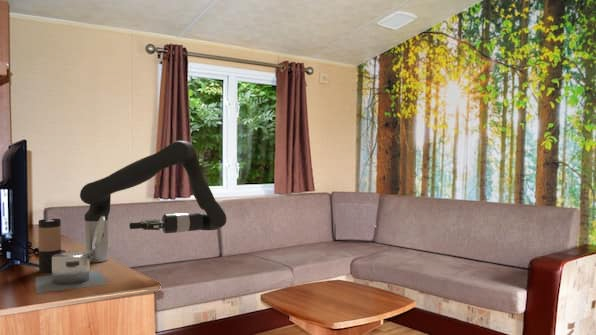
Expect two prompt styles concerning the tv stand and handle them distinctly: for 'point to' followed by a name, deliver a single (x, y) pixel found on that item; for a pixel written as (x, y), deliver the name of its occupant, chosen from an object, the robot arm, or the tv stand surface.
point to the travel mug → (48, 243)
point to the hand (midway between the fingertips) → (129, 226)
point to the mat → (46, 285)
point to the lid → (98, 235)
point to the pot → (71, 268)
